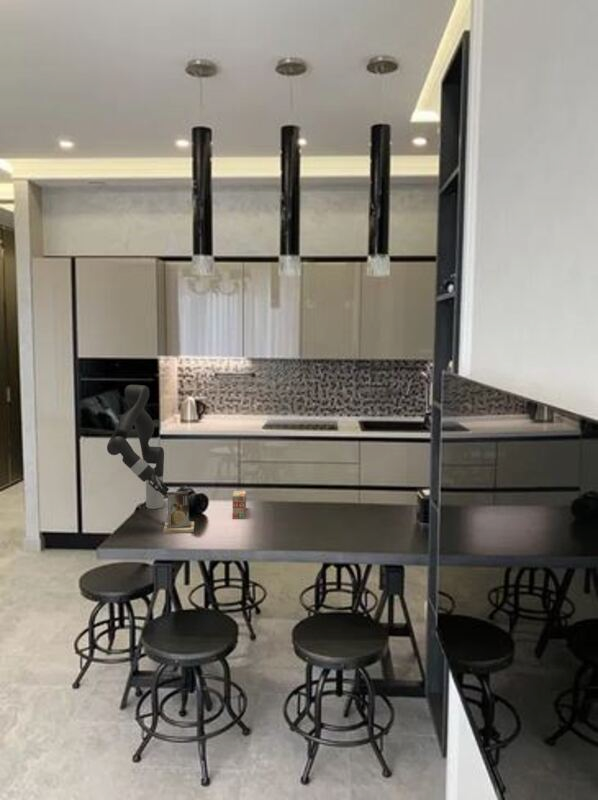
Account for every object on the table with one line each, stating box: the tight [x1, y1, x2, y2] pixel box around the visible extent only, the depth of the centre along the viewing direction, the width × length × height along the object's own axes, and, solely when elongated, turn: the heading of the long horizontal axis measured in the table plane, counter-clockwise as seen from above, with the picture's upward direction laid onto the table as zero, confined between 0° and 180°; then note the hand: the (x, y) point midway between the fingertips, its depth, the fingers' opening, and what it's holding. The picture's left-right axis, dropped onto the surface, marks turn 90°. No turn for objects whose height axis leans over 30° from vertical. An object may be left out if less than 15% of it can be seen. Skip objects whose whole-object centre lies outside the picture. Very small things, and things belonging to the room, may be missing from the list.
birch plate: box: [162, 520, 195, 534], centre depth 295 cm, size 14×14×2 cm
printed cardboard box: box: [231, 489, 247, 520], centre depth 324 cm, size 21×6×12 cm, turn 3°
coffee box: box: [167, 490, 190, 528], centre depth 295 cm, size 9×6×16 cm
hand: (167, 492), depth 293 cm, fingers open, 8 cm apart
